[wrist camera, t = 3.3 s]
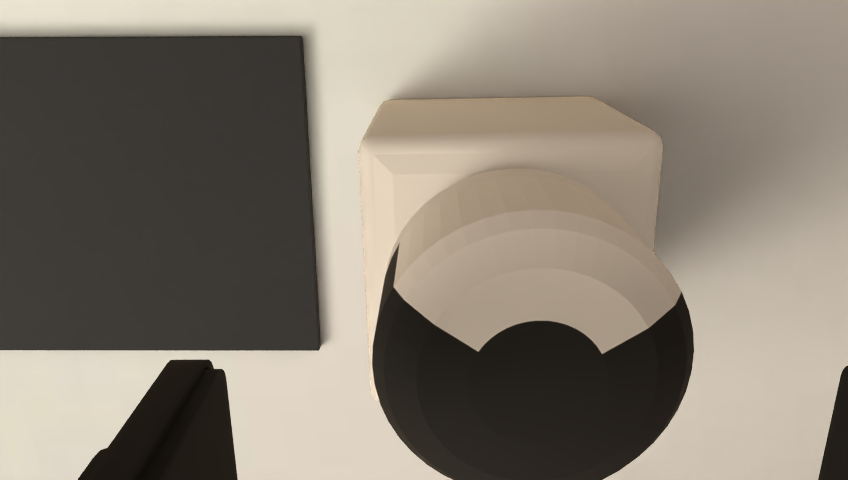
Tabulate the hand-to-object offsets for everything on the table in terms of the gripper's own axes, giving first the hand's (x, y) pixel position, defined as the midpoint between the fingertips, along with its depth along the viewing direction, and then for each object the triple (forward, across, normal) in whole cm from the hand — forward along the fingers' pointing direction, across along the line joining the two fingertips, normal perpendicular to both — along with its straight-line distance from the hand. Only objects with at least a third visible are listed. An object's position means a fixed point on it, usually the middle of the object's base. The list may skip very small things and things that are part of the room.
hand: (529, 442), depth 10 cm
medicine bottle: (+14, -1, 0) cm, 14 cm away
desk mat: (+14, +16, 0) cm, 21 cm away
